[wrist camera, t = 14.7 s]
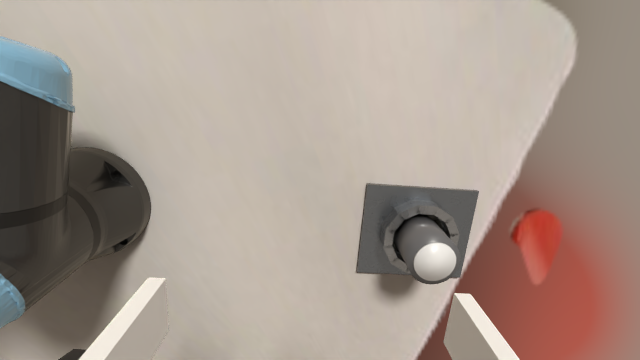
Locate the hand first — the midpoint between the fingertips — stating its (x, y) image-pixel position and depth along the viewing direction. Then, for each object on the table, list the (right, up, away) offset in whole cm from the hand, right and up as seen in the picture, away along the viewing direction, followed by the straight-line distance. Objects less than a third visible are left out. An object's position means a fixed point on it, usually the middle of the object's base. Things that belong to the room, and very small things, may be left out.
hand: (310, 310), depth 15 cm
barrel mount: (+15, -2, +34) cm, 37 cm away
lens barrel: (+14, -2, +33) cm, 36 cm away
